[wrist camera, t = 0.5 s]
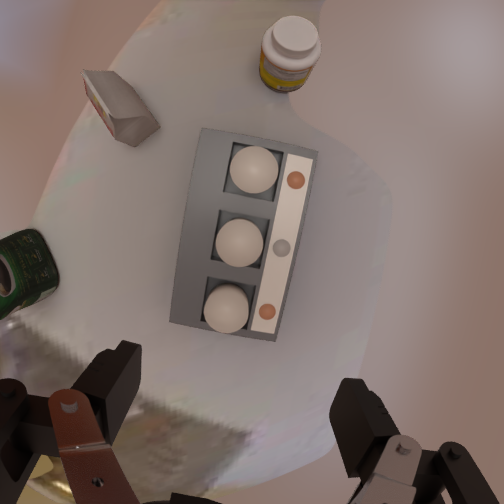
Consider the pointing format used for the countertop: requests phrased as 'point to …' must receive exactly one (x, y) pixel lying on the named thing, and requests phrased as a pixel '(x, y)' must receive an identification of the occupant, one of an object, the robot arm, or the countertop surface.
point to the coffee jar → (24, 271)
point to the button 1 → (226, 308)
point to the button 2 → (254, 169)
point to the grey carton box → (119, 107)
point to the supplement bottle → (289, 53)
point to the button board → (250, 207)
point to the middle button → (239, 242)
